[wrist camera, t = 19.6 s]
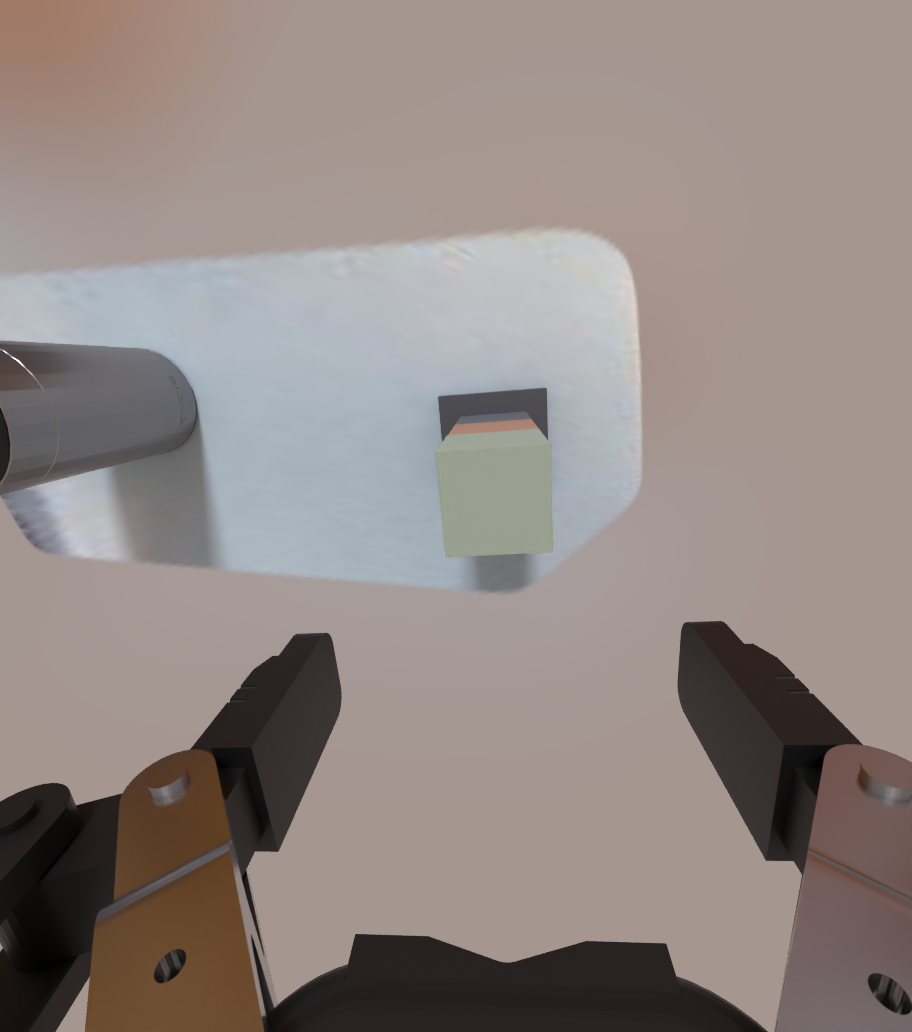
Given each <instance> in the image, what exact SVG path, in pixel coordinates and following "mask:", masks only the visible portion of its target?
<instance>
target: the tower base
mask: <svg viewBox="0 0 912 1032" xmlns="http://www.w3.org/2000/svg"><path fill="white" fill-rule="evenodd" d="M438 399H439V411H440V422H441V433H442V442H443V440H444V439H445V437H446V436H447V435H449V433H450V431H451V430H452V428H453V427H454V425H456V424H470V423H484V422H497V421H511V420H525V419H532V420H533V422H534V423H535V424H536V426H537V427H538V428H539V429H540V431H541V432H542V433H543V435H544V436H545V437H546V439H547V440H548V429H547V388H536V389H524V390H511V391H499V392H486V393H473V394H461V395H448V396H439V397H438Z"/></svg>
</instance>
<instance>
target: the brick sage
mask: <svg viewBox="0 0 912 1032" xmlns="http://www.w3.org/2000/svg"><path fill="white" fill-rule="evenodd" d="M435 453H436V463H437V474H438V484H439V494H440V504H441V514H442V525H443V535H444V545H445V555H446V558H447V557H467V556H487V555H507V554H527V553H547V552H553V521H552V481H551V444H550V443H549V441H548V440H547V439H546V437H545V436H544V435H543V433H542V432H541V431H540V429H539V428H538V429H524V430H511V431H498V432H485V433H471V434H458V435H447V436H446V437H445V439H444V440H443V442H442V443H441V445H440V446H439V448H438V449H437V451H436V452H435Z"/></svg>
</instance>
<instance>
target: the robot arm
mask: <svg viewBox="0 0 912 1032" xmlns="http://www.w3.org/2000/svg"><path fill="white" fill-rule="evenodd" d="M195 420H196V404H195V398H194V395H193V392H192V389H191V387H190V385H189V383H188V381H187V379H186V378H185V376H184V375H183V374H182V372H181V371H180V370H179V369H178V367H176V366H175V365H174V364H173V363H172V362H171V361H170V360H168V359H167V358H165V357H163V356H162V355H160V354H158V353H156V352H153V351H150V350H146V349H138V348H122V347H106V346H90V345H72V344H53V343H35V342H16V341H0V495H2V494H6V493H10V492H14V491H18V490H22V489H25V488H28V487H32V486H36V485H40V484H44V483H48V482H52V481H55V480H59V479H63V478H67V477H71V476H75V475H79V474H83V473H86V472H90V471H94V470H98V469H102V468H106V467H110V466H114V465H118V464H121V463H125V462H129V461H133V460H138V459H142V458H145V457H149V456H153V455H157V454H161V453H164V452H168V451H171V450H174V449H176V448H177V447H179V446H181V445H182V444H183V443H184V442H185V441H186V440H187V439H188V437H189V436H190V434H191V432H192V430H193V427H194V424H195ZM678 693H679V699H680V703H681V706H682V709H683V712H684V713H685V715H686V717H687V719H688V721H689V723H690V724H691V726H692V728H693V730H694V732H695V733H696V735H697V737H698V739H699V740H700V742H701V744H702V746H703V748H704V750H705V751H706V753H707V755H708V757H709V759H710V760H711V762H712V764H713V765H714V768H715V769H716V771H717V773H718V775H719V777H720V778H721V780H722V782H723V784H724V786H725V787H726V789H727V791H728V793H729V795H730V797H731V798H732V800H733V802H734V803H735V806H736V807H737V809H738V811H739V813H740V815H741V816H742V818H743V820H744V822H745V823H746V825H747V827H748V829H749V831H750V833H751V834H752V836H753V838H754V840H755V842H756V843H757V845H758V847H759V849H760V851H761V852H762V854H763V856H764V858H765V860H766V861H794V862H795V864H796V865H797V867H798V869H799V870H800V872H801V874H802V880H801V885H800V890H799V895H798V901H797V907H796V912H795V918H794V923H793V929H792V935H791V941H790V947H789V951H788V957H787V963H786V969H785V974H784V980H783V985H782V990H781V996H780V1002H779V1007H778V1013H777V1018H776V1024H775V1029H774V1032H912V762H910V761H908V760H906V759H904V758H902V757H900V756H897V755H895V754H892V753H890V752H887V751H884V750H881V749H878V748H874V747H870V746H865V745H863V744H862V743H861V742H860V741H859V740H858V739H857V738H856V737H855V736H854V735H853V734H852V733H851V732H850V731H849V730H848V729H847V728H846V727H845V726H844V725H843V724H842V723H841V722H840V721H839V720H838V719H837V718H836V717H835V716H834V715H833V714H832V713H831V712H830V711H829V710H828V709H827V708H826V707H825V706H824V705H823V704H822V703H821V702H820V701H819V700H818V699H817V698H816V697H815V695H814V694H810V693H809V689H808V688H807V687H806V686H805V685H804V684H803V683H802V682H801V681H800V680H799V679H795V676H794V674H793V673H792V672H791V671H790V670H789V669H788V668H787V667H786V666H785V665H784V664H783V663H782V662H781V661H780V660H779V659H778V658H777V657H775V656H773V655H772V654H770V653H768V652H766V651H765V650H763V649H761V648H759V647H758V646H756V645H754V644H744V643H743V642H742V641H741V640H740V639H739V638H738V637H737V635H736V634H735V633H734V632H733V631H732V630H731V629H730V628H729V627H728V626H727V624H725V623H724V622H722V621H713V622H711V621H710V622H686V623H684V624H683V627H682V630H681V641H680V655H679V670H678ZM340 707H341V685H340V680H339V674H338V670H337V663H336V658H335V653H334V647H333V642H332V638H331V636H330V635H329V634H328V633H311V634H310V633H309V634H296V635H294V636H293V637H292V639H291V640H290V641H289V643H288V644H287V645H286V647H285V648H284V650H283V651H282V652H281V653H280V655H279V656H272V657H270V658H269V659H268V660H266V661H265V662H264V663H262V664H261V665H259V666H258V667H257V668H255V669H254V670H253V671H252V672H251V673H250V675H249V676H248V677H247V678H246V680H245V681H244V682H243V683H242V685H241V688H240V689H238V690H237V691H236V692H235V694H234V695H233V696H232V697H231V699H230V703H227V704H226V705H225V706H224V707H223V709H222V710H221V711H220V712H219V714H218V715H217V716H216V718H215V719H214V720H213V721H212V723H211V724H210V725H209V726H208V728H207V729H206V730H205V731H204V733H203V734H202V735H201V737H200V738H199V739H198V740H197V742H196V743H195V744H194V746H193V747H192V748H191V749H190V750H186V751H181V752H177V753H174V754H171V755H169V756H166V757H164V758H162V759H160V760H158V761H157V762H155V763H153V764H151V765H150V766H148V767H147V768H145V769H144V770H143V771H142V772H140V773H139V774H138V775H137V776H136V777H135V778H134V779H133V780H132V781H131V782H130V784H129V785H128V786H127V787H126V789H125V790H124V792H123V793H122V794H118V795H115V796H111V797H107V798H103V799H99V800H95V801H92V802H87V803H84V804H80V805H75V802H74V800H73V798H72V795H71V793H70V790H69V789H68V787H67V786H65V785H63V784H59V783H49V784H42V785H38V786H34V787H31V788H28V789H25V790H23V791H21V792H18V793H16V794H14V795H12V796H10V797H8V798H6V799H4V800H2V801H1V802H0V943H1V945H2V947H3V949H2V950H1V952H0V1032H55V1031H56V1030H57V1028H58V1026H59V1025H60V1023H61V1021H62V1020H63V1018H64V1017H65V1015H66V1014H67V1012H68V1010H69V1009H70V1007H71V1006H72V1004H73V1002H74V1001H75V999H76V997H77V996H78V994H79V993H80V991H81V989H82V988H83V986H84V984H85V983H86V981H87V980H88V978H89V976H90V981H89V991H88V1002H87V1013H86V1024H85V1032H767V1031H766V1030H765V1029H764V1028H763V1027H761V1025H759V1024H758V1023H757V1022H756V1021H754V1020H753V1019H752V1018H751V1017H749V1016H748V1015H746V1014H745V1013H744V1012H742V1011H741V1010H739V1009H738V1008H737V1007H736V1006H734V1005H733V1004H731V1003H729V1002H728V1001H726V1000H725V999H723V998H721V997H720V996H718V995H716V994H715V993H713V992H711V991H709V990H707V989H705V988H703V987H701V986H699V985H697V984H695V983H693V982H691V981H688V980H685V979H682V978H680V977H677V976H676V974H675V971H674V968H673V964H672V961H671V958H670V955H669V951H668V948H667V945H666V944H663V943H628V942H597V941H585V942H582V943H578V944H575V945H571V946H568V947H564V948H561V949H557V950H554V951H550V952H547V953H544V954H540V955H537V956H533V957H530V958H526V959H523V960H520V961H516V962H511V963H503V962H499V961H496V960H493V959H490V958H488V957H485V956H482V955H479V954H476V953H473V952H471V951H468V950H465V949H462V948H460V947H457V946H454V945H451V944H448V943H446V942H443V941H440V940H437V939H434V938H431V937H429V936H401V935H400V936H399V935H368V934H366V935H365V934H355V938H354V942H353V946H352V950H351V954H350V959H349V963H348V965H345V966H342V967H338V968H336V969H334V970H332V971H329V972H327V973H325V974H322V975H320V976H318V977H317V978H315V979H313V980H312V981H310V982H308V983H307V984H305V985H303V986H301V987H300V988H299V989H297V990H296V991H295V992H293V993H292V994H291V995H289V996H288V997H287V998H285V999H284V1000H283V1001H282V1002H280V1003H279V1004H278V1002H277V999H276V995H275V991H274V987H273V983H272V978H271V974H270V970H269V965H268V961H267V956H266V952H265V947H264V943H263V938H262V934H261V929H260V924H259V920H258V915H257V911H256V906H255V902H254V897H253V893H252V888H251V884H250V879H249V875H248V872H247V867H248V865H249V863H250V861H251V858H252V856H253V854H254V852H255V851H272V852H278V851H279V849H280V847H281V845H282V842H283V840H284V838H285V835H286V833H287V831H288V829H289V827H290V824H291V822H292V820H293V817H294V815H295V813H296V810H297V808H298V806H299V804H300V802H301V799H302V797H303V795H304V793H305V790H306V788H307V786H308V783H309V781H310V779H311V777H312V775H313V772H314V770H315V768H316V766H317V763H318V761H319V759H320V756H321V754H322V752H323V750H324V748H325V745H326V743H327V740H328V738H329V736H330V734H331V732H332V729H333V727H334V725H335V723H336V720H337V718H338V716H339V712H340Z"/></svg>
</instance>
